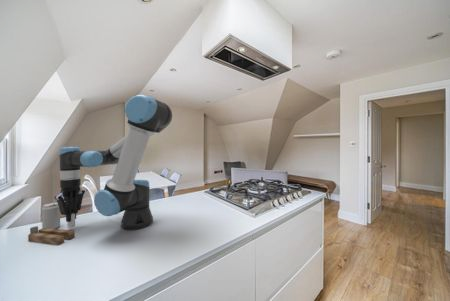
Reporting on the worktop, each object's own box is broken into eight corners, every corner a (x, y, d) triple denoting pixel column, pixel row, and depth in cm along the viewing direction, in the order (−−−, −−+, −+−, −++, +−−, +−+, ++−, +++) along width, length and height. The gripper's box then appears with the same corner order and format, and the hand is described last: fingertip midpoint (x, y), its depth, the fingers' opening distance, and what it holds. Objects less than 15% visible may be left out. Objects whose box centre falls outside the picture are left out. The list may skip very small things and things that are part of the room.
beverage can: (49, 232, 85) (48, 206, 85) (38, 230, 86) (38, 205, 86) (63, 226, 91) (63, 202, 91) (53, 225, 93) (53, 201, 92)
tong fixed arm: (69, 240, 78) (69, 230, 78) (58, 245, 74) (58, 234, 73) (35, 235, 81) (35, 226, 81) (23, 240, 77) (23, 230, 77)
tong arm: (74, 236, 80) (74, 230, 80) (69, 239, 78) (69, 232, 78) (44, 234, 82) (44, 228, 82) (38, 236, 80) (38, 230, 80)
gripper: (77, 176, 94) (78, 221, 95) (48, 181, 81) (49, 232, 82) (89, 176, 93) (90, 222, 93) (62, 181, 80) (63, 234, 80)
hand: (71, 227), depth 88 cm, fingers closed
